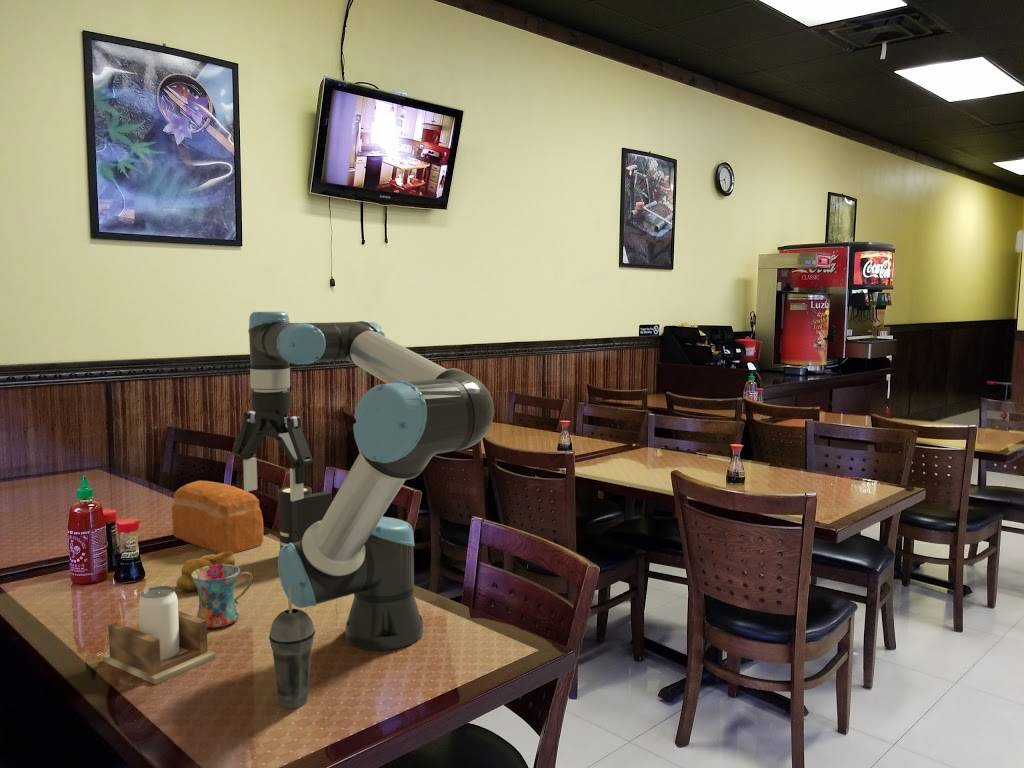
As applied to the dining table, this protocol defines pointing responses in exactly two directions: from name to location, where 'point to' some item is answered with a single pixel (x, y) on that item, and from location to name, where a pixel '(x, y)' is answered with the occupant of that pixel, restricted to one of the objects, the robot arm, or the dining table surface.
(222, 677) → the dining table surface
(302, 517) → the light fixture
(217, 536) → the bread
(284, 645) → the beverage cup
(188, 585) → the ginger root
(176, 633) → the can
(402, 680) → the dining table surface
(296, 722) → the dining table surface
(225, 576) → the mug
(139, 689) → the dining table surface
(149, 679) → the caddy
